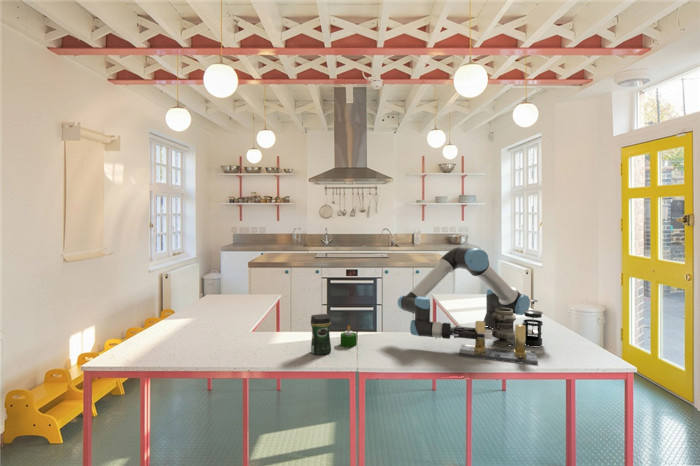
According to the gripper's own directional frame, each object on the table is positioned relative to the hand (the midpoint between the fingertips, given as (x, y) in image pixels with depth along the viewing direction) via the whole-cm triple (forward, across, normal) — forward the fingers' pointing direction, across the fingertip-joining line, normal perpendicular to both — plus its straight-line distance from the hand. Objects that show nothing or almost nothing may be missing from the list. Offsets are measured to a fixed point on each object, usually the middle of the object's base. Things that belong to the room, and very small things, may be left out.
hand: (491, 334), depth 197 cm
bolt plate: (+2, 0, -10) cm, 10 cm away
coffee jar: (-78, +25, -10) cm, 82 cm away
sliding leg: (-5, +2, -8) cm, 10 cm away
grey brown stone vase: (+5, -20, -10) cm, 23 cm away
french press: (+19, -24, -10) cm, 32 cm away
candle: (-69, +9, -10) cm, 70 cm away
